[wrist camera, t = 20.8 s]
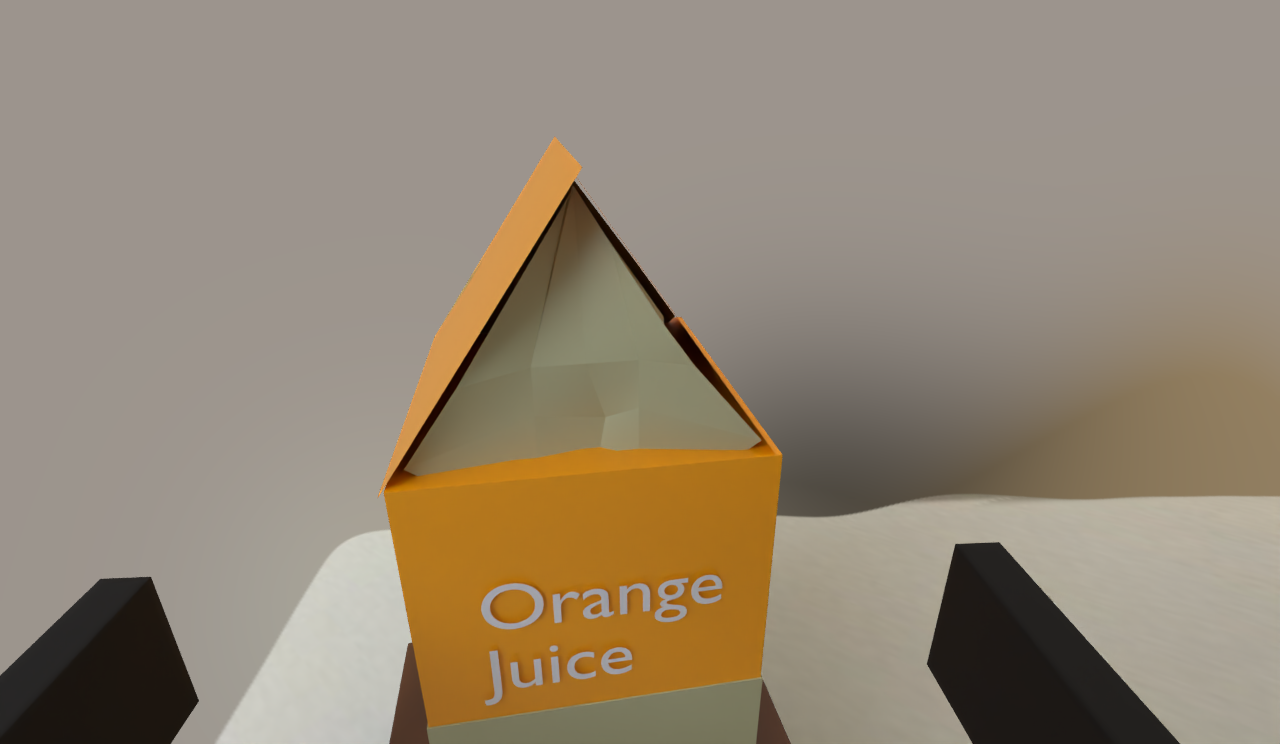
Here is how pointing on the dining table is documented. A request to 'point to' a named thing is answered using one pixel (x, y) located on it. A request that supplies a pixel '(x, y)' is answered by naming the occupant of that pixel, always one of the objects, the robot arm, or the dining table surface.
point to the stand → (412, 721)
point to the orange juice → (580, 502)
